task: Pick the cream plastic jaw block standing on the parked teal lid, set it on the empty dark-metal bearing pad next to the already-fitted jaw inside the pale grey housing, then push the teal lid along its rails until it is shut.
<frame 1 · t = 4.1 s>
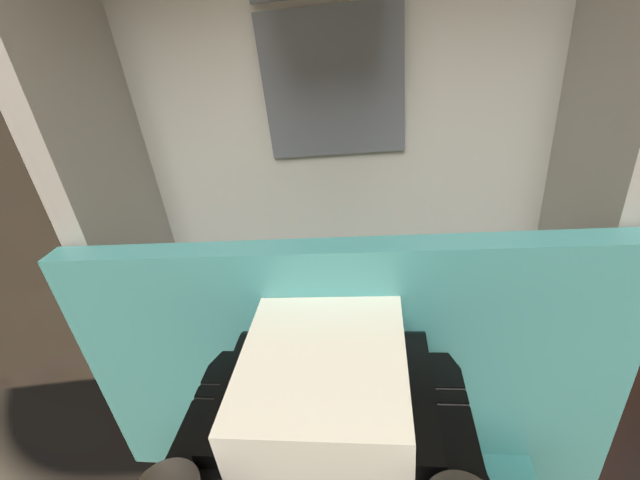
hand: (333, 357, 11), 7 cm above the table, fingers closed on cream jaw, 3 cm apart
teal lid: (336, 398, 11), point 7 cm above the table, slide at 8.8 cm, touching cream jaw
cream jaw: (334, 349, 11), point 6 cm above the table, touching gripper, teal lid
grey housing: (340, 144, 15), on the table
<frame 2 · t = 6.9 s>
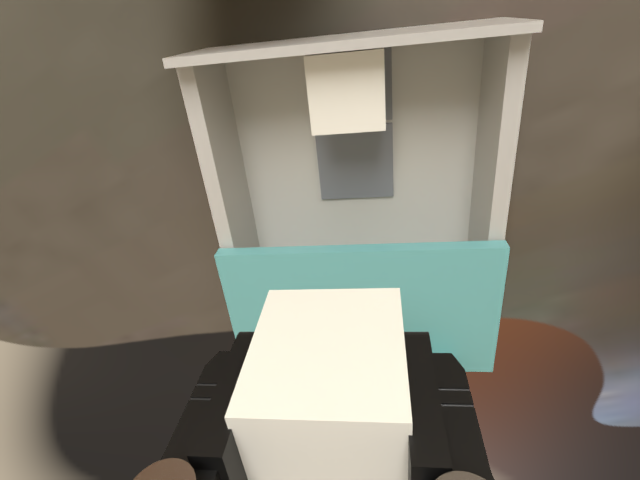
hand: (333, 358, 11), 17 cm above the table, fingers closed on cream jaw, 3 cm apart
teal lid: (358, 323, 23), point 7 cm above the table, slide at 8.8 cm
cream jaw: (338, 338, 12), point 16 cm above the table, touching gripper
grey housing: (357, 190, 27), on the table
when the fingers open (3 cm above the table, at t = 10.0 s): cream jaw stays where it is, resting on grey housing.
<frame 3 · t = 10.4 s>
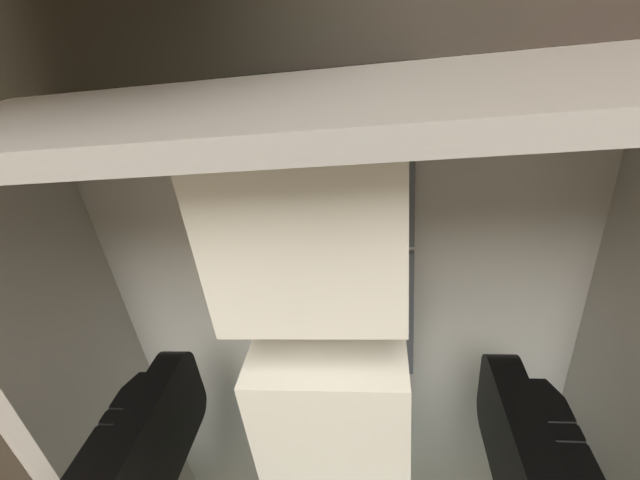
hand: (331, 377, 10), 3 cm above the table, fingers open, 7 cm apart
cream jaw: (340, 325, 12), point 1 cm above the table, touching grey housing
grey housing: (345, 346, 14), on the table
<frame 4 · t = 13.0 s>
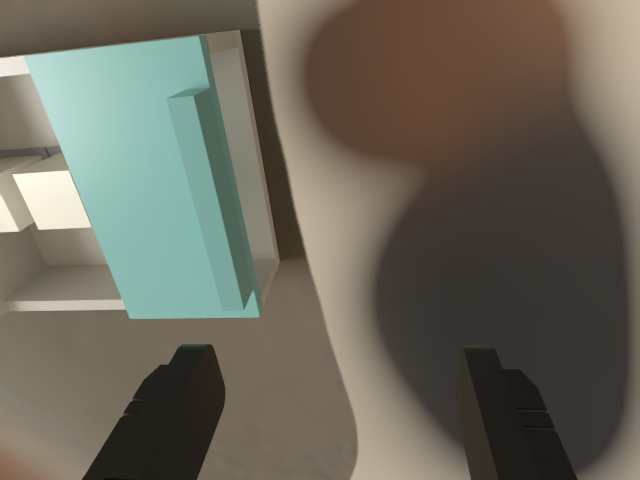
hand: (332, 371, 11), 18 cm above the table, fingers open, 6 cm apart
teal lid: (152, 209, 21), point 7 cm above the table, slide at 8.8 cm
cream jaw: (93, 177, 27), point 1 cm above the table, touching grey housing
grey housing: (130, 169, 28), on the table
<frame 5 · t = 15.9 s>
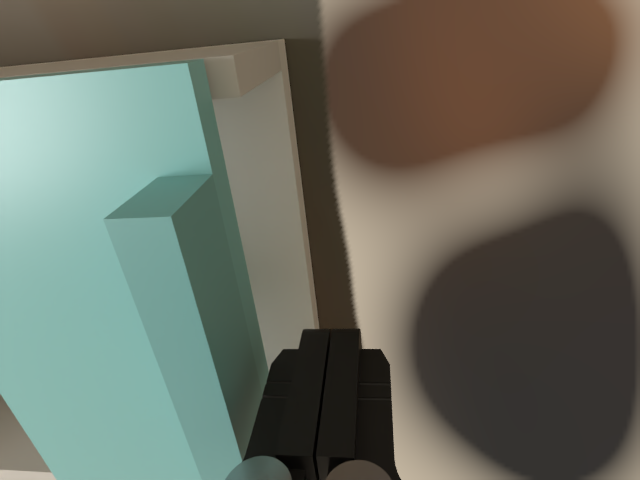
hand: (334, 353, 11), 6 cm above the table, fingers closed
teal lid: (100, 384, 11), point 7 cm above the table, slide at 8.2 cm, touching gripper
grey housing: (98, 255, 18), on the table
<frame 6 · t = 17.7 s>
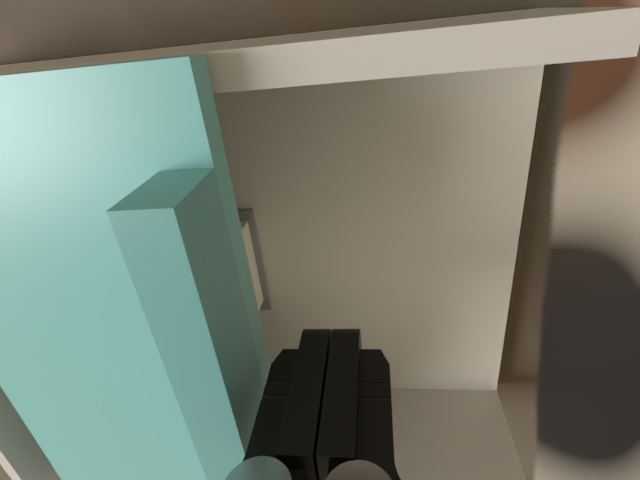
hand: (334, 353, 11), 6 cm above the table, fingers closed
teal lid: (102, 379, 11), point 7 cm above the table, slide at 0.8 cm, touching gripper
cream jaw: (212, 263, 16), point 1 cm above the table, touching grey housing
grey housing: (268, 247, 17), on the table
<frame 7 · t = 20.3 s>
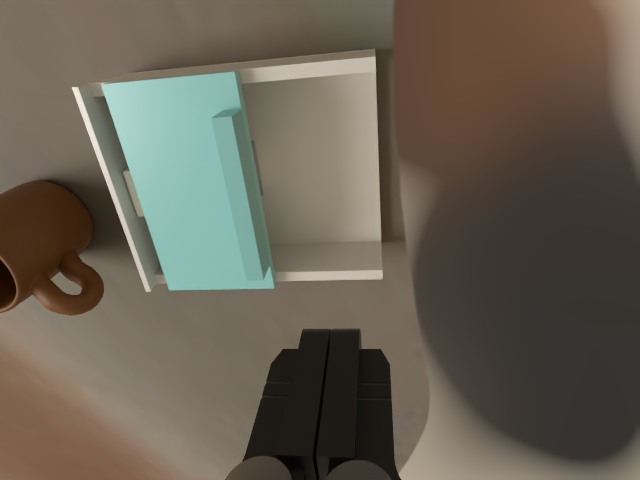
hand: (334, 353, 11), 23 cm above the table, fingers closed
teal lid: (193, 200, 28), point 7 cm above the table, slide at 0.7 cm
grey housing: (262, 164, 33), on the table
mug: (80, 227, 38), on the table
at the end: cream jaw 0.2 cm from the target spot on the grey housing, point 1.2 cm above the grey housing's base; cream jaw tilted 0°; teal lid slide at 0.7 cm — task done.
